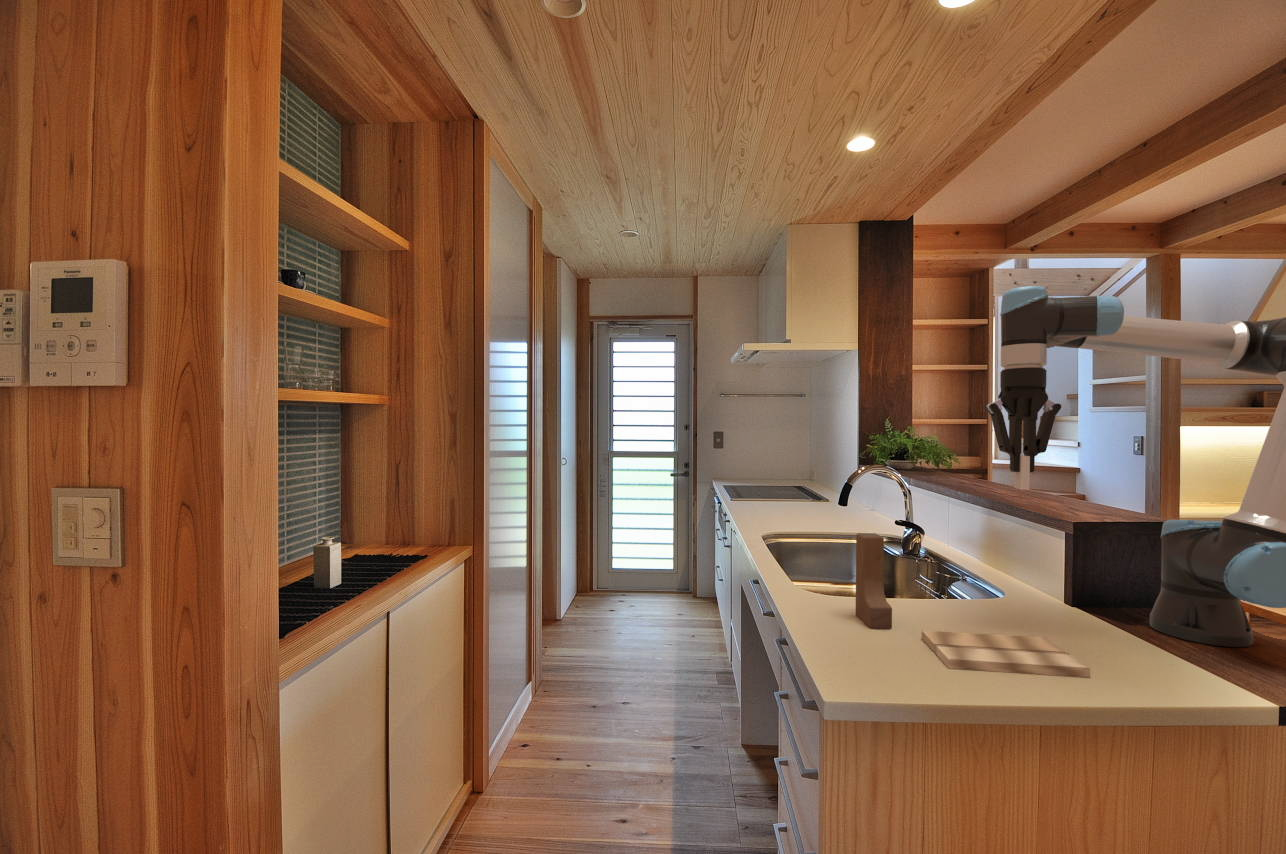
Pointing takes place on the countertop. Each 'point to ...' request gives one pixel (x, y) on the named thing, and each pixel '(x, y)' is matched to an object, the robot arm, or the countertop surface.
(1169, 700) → the countertop surface
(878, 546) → the wooden block
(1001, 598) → the countertop surface
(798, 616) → the countertop surface
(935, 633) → the board
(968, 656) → the laid board
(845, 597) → the countertop surface
